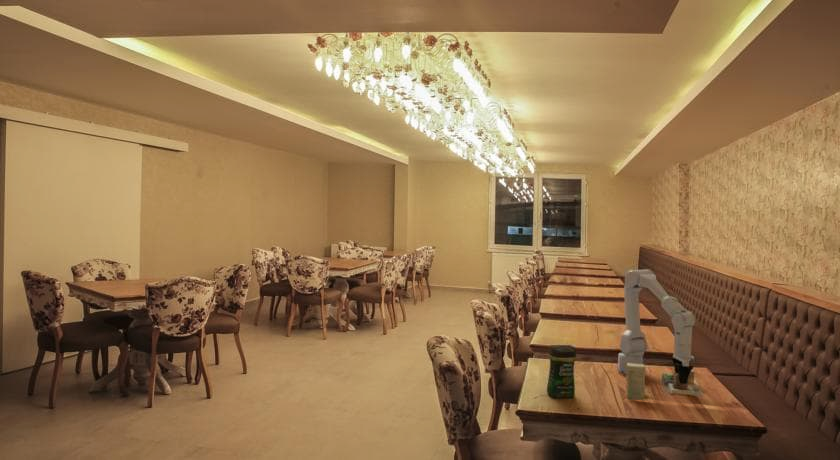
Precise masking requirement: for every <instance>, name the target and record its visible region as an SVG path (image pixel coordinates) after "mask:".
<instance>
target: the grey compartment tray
mask: <svg viewBox="0 0 840 460" xmlns="http://www.w3.org/2000/svg"><path fill="white" fill-rule="evenodd" d="M663 386H664V388H665V390H666V392H667V394H677V395H686V396H696V397H704V394H703V393H702V392H701V390H700V386H699V384H698V382H697V381H696V380H695V379H694V385H690V384H688V386H687V390H678V389H674V388H673V387H674V384H670V383H668V385H664V384H663Z"/></svg>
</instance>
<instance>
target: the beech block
mask: <svg viewBox="0 0 840 460" xmlns="http://www.w3.org/2000/svg"><path fill="white" fill-rule="evenodd" d="M694 380H695V370H694V369H692V370H691V372H690V374H689V377H688V384H690V385H694Z"/></svg>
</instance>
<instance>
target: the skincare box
mask: <svg viewBox="0 0 840 460" xmlns="http://www.w3.org/2000/svg"><path fill="white" fill-rule="evenodd" d="M645 386H646V366H645V363H642V364H635V363H627V374H626V388H625V389H626V393H625V394H626V395H625V396H626V399H627V400H636V401H637V400H638V401H645V398H646V396H645V395H646V393H645V392H646V390H645V389H646V388H645Z"/></svg>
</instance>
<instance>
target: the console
mask: <svg viewBox="0 0 840 460" xmlns="http://www.w3.org/2000/svg"><path fill="white" fill-rule="evenodd" d="M666 374H667V373H665V372H663V373H661V382H662V384H663V386H664V385H668V383H670V384H674V377H666ZM672 374H673V375H674V373H672Z"/></svg>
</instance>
